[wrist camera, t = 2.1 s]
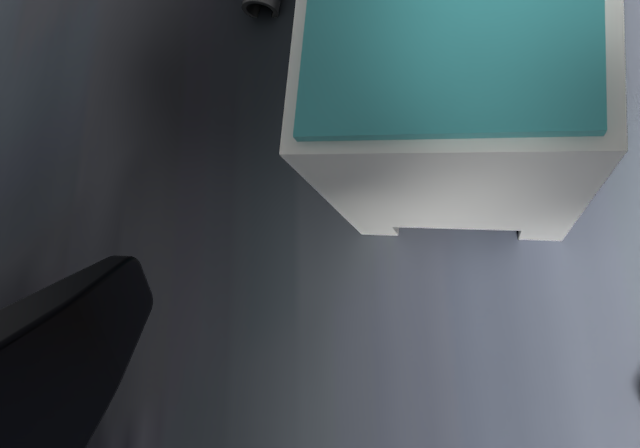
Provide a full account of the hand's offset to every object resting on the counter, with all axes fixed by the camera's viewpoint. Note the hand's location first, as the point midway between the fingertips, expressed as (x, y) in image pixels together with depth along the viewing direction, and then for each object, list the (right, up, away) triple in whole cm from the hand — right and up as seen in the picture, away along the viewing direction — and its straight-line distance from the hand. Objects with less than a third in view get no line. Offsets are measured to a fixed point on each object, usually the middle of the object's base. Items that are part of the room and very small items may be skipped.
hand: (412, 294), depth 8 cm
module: (+4, +3, +12) cm, 13 cm away
